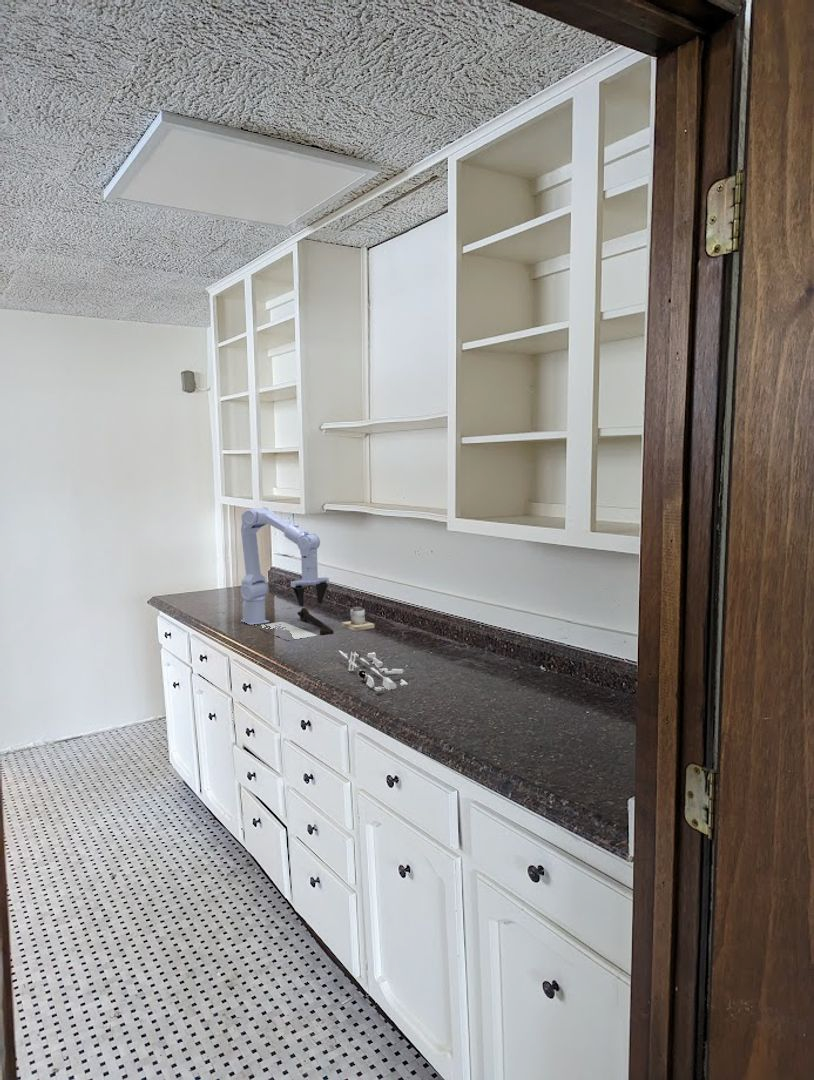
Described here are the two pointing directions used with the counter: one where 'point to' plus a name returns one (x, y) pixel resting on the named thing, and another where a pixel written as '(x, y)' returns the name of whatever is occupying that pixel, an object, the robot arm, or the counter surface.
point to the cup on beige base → (358, 620)
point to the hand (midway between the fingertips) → (310, 604)
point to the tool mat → (291, 630)
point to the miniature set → (370, 682)
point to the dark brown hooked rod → (314, 621)
